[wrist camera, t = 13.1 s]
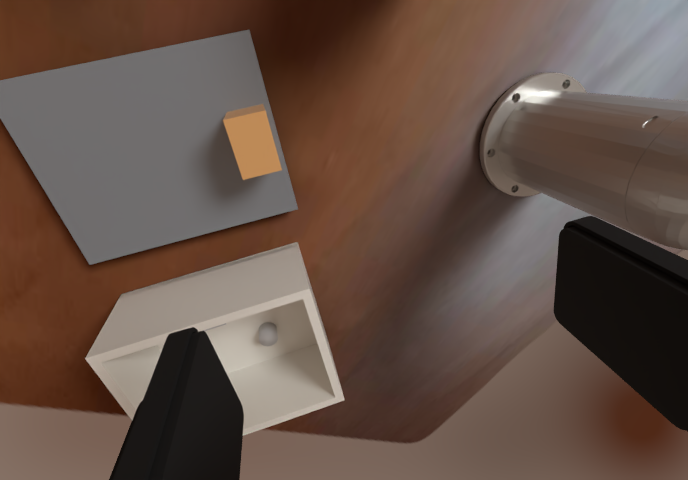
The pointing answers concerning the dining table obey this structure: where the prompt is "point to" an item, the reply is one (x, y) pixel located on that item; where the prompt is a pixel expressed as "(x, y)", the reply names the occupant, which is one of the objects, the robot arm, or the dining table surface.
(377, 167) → the dining table surface
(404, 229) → the dining table surface
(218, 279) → the parts tub
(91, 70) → the grey board with block
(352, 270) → the dining table surface
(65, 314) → the dining table surface
